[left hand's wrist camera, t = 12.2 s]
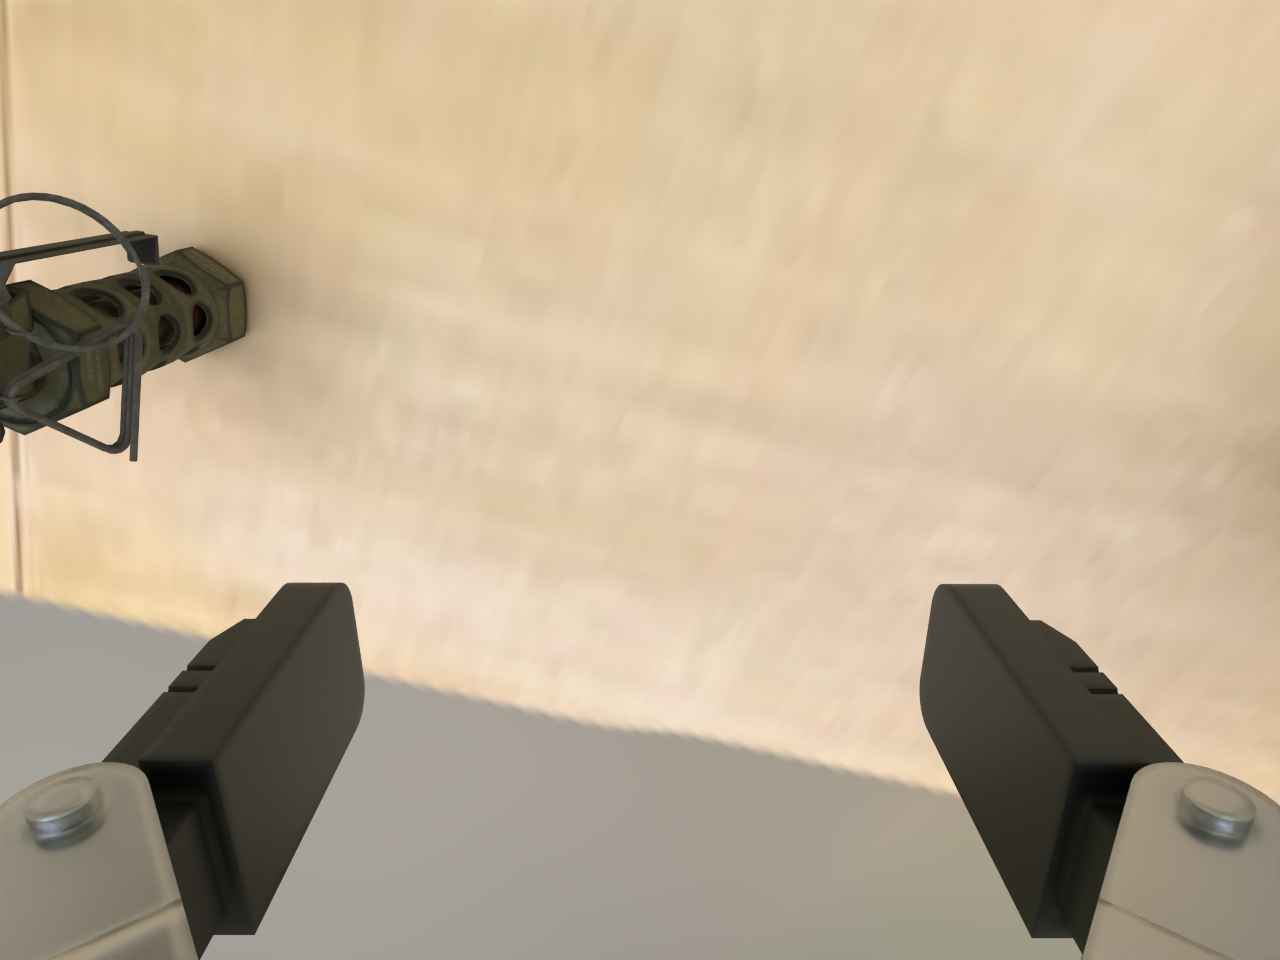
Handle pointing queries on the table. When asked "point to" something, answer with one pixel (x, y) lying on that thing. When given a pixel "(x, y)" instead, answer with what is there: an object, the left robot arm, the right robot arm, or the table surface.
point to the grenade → (106, 328)
